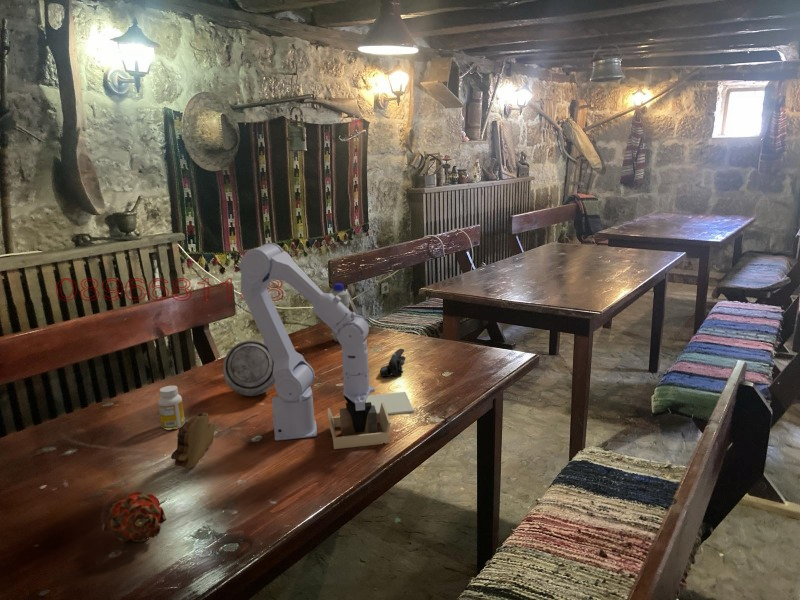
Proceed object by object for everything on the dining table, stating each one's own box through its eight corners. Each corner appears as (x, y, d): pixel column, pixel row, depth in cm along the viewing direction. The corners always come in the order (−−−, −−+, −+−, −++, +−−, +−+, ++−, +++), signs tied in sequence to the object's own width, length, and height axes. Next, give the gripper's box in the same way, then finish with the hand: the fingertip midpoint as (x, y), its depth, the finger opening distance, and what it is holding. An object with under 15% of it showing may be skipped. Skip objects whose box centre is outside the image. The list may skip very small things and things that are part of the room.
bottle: (334, 337, 212) (331, 281, 207) (353, 337, 211) (350, 281, 206) (329, 343, 205) (326, 285, 200) (349, 343, 204) (346, 285, 199)
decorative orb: (223, 407, 156) (217, 352, 152) (227, 386, 170) (221, 335, 166) (282, 400, 159) (277, 346, 155) (281, 381, 173) (276, 330, 169)
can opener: (401, 380, 171) (400, 361, 169) (377, 379, 172) (376, 360, 171) (414, 359, 188) (413, 342, 186) (392, 358, 189) (391, 341, 188)
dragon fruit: (158, 559, 100) (119, 544, 108) (187, 511, 105) (148, 500, 112) (120, 537, 95) (82, 523, 102) (153, 488, 100) (114, 477, 107)
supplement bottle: (177, 419, 150) (172, 382, 148) (189, 424, 147) (184, 387, 144) (157, 427, 146) (151, 389, 144) (169, 433, 143) (164, 394, 140)
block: (342, 440, 136) (340, 416, 135) (341, 432, 140) (339, 408, 139) (377, 436, 137) (376, 412, 136) (375, 429, 141) (374, 405, 140)
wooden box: (331, 449, 132) (330, 428, 131) (328, 427, 143) (327, 407, 142) (391, 442, 134) (390, 422, 133) (384, 421, 145) (383, 402, 144)
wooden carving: (198, 442, 137) (193, 402, 135) (218, 442, 137) (213, 401, 135) (169, 481, 121) (163, 436, 119) (192, 481, 121) (186, 435, 119)
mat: (365, 417, 148) (365, 415, 148) (360, 397, 159) (360, 396, 159) (413, 412, 150) (413, 410, 149) (405, 393, 161) (405, 391, 161)
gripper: (377, 381, 129) (380, 439, 132) (369, 358, 142) (372, 412, 146) (344, 384, 127) (348, 443, 131) (339, 361, 141) (342, 415, 145)
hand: (358, 427), depth 138 cm, fingers closed on block, 4 cm apart
